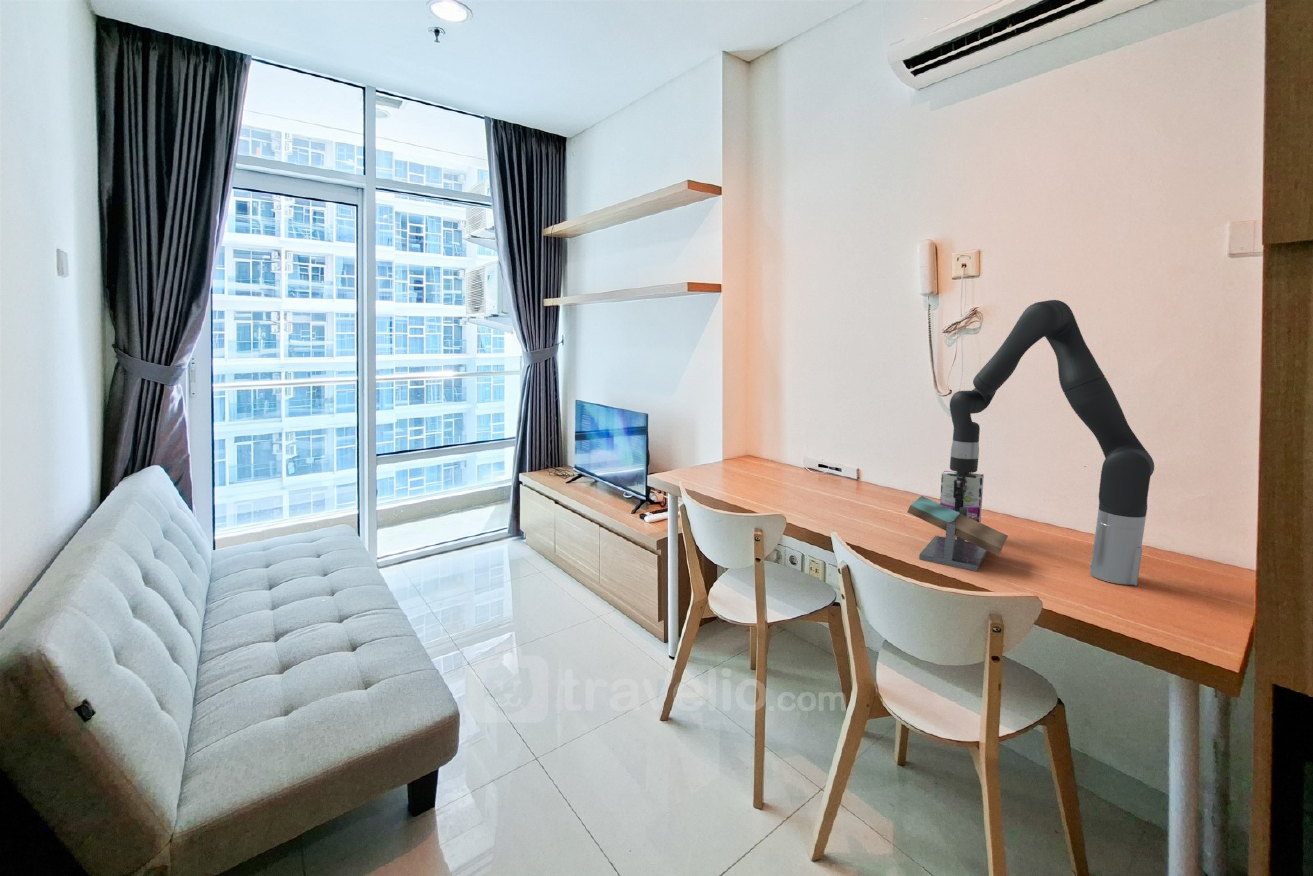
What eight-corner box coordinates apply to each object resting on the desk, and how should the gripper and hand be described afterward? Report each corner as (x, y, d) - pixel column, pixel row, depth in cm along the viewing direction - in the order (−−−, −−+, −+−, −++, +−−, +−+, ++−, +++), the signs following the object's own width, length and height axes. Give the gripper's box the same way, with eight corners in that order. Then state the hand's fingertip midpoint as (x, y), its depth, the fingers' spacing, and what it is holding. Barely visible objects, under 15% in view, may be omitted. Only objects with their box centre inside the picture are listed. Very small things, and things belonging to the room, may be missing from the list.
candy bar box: (980, 525, 176) (984, 473, 173) (978, 529, 171) (982, 476, 169) (940, 519, 182) (944, 469, 180) (938, 523, 178) (941, 472, 175)
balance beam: (1005, 541, 158) (1009, 534, 157) (998, 556, 146) (1002, 549, 145) (919, 501, 170) (922, 495, 169) (906, 512, 158) (909, 505, 158)
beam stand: (988, 550, 163) (992, 511, 161) (976, 571, 147) (981, 528, 145) (935, 540, 171) (938, 503, 169) (919, 559, 155) (922, 518, 154)
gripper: (974, 460, 166) (969, 516, 168) (982, 453, 177) (977, 506, 179) (946, 457, 170) (942, 512, 173) (955, 451, 181) (951, 502, 184)
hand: (960, 509), depth 176 cm, fingers closed on candy bar box, 5 cm apart
